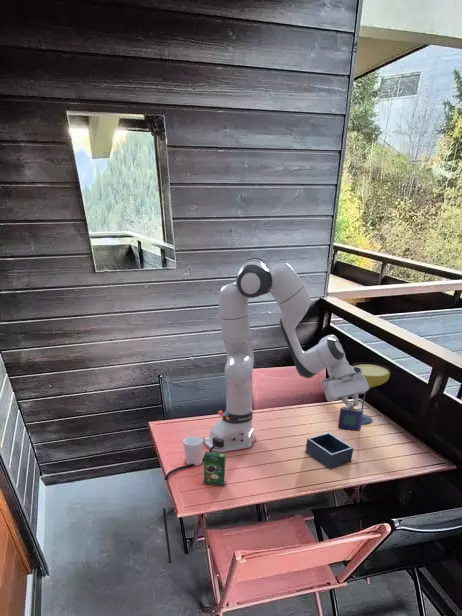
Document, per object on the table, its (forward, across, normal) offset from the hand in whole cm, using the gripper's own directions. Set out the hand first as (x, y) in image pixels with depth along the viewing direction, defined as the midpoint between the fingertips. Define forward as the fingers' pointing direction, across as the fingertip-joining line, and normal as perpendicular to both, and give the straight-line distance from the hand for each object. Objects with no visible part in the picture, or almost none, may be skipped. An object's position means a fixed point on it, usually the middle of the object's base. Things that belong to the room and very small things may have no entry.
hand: (353, 406), depth 177 cm
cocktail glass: (0, +28, +29) cm, 41 cm away
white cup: (-2, -60, +32) cm, 68 cm away
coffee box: (+11, -60, +20) cm, 64 cm away
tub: (+15, -9, +15) cm, 23 cm away
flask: (+7, 0, +8) cm, 11 cm away
